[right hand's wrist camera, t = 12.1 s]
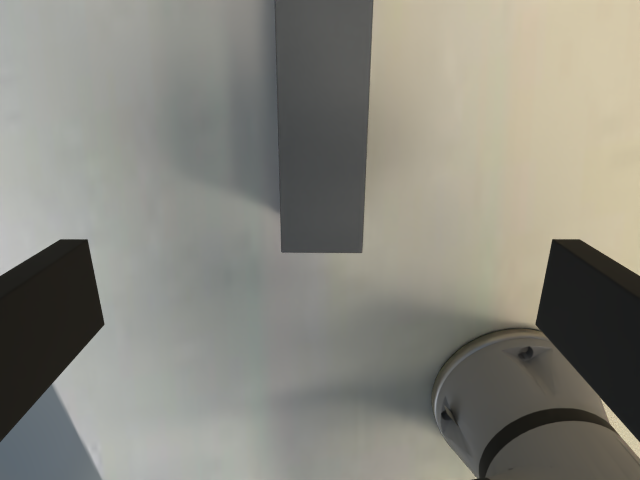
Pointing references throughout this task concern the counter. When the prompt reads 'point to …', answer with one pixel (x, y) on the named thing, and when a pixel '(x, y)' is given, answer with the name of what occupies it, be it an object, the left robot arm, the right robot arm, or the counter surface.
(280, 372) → the counter surface
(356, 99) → the post
